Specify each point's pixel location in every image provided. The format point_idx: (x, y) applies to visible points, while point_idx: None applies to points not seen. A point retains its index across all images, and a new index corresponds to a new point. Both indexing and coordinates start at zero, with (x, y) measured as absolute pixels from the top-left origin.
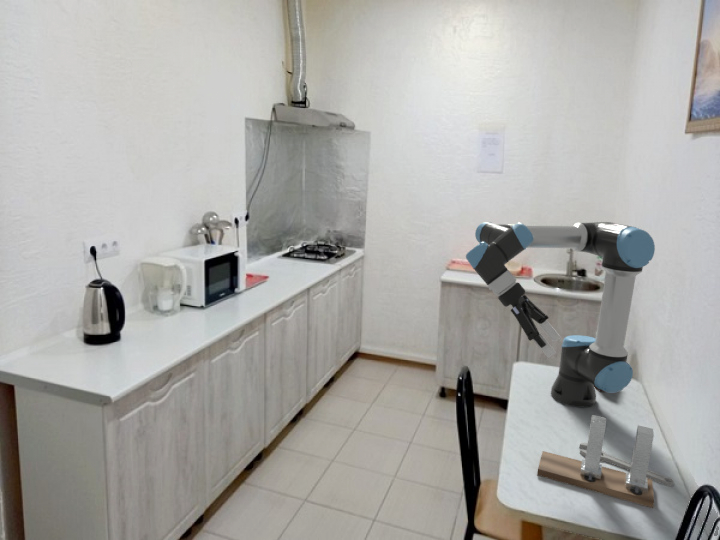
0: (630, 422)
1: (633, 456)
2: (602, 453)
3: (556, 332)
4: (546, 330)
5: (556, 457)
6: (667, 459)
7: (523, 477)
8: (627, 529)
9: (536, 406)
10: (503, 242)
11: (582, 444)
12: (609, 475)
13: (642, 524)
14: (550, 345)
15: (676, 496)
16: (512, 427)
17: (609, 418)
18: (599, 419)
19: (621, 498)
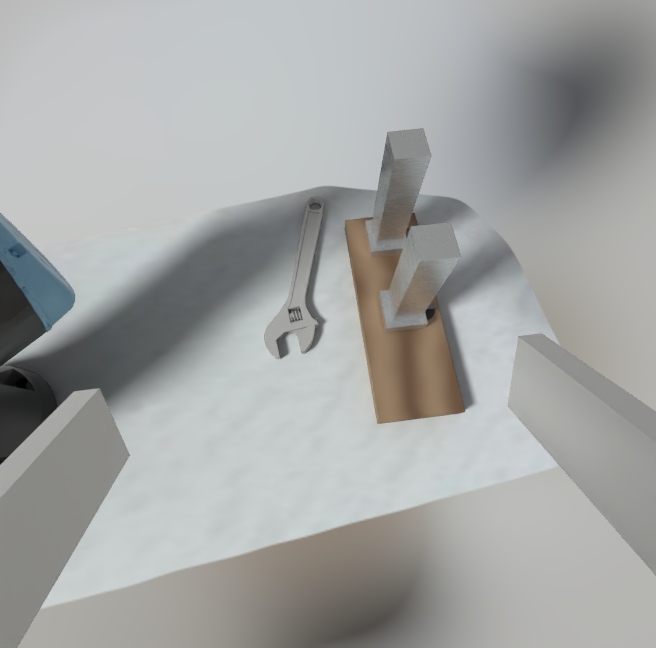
0: (92, 283)
1: (406, 209)
2: (288, 309)
3: (57, 436)
4: (32, 574)
5: (387, 386)
6: (227, 213)
7: (489, 437)
8: (500, 246)
9: (101, 514)
10: None
11: (277, 351)
12: (383, 281)
13: (469, 230)
14: (590, 378)
15: (349, 196)
16: (274, 541)
17: (91, 324)
18: (435, 239)
19: None
